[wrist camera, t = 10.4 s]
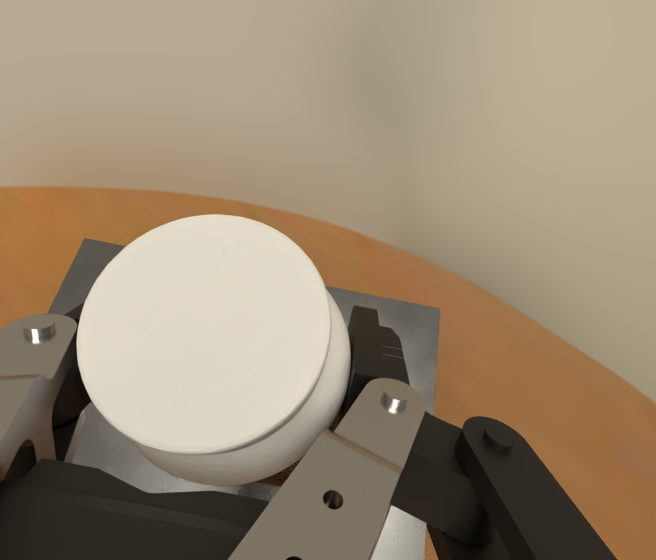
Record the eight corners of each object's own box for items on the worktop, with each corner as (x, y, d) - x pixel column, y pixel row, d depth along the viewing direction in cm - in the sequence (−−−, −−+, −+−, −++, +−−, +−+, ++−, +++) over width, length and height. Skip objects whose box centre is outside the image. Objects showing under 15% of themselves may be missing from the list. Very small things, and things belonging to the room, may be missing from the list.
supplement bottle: (270, 497, 13) (223, 619, 5) (159, 405, 14) (-64, 355, 5) (353, 374, 15) (435, 288, 6) (251, 299, 16) (199, 133, 7)
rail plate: (2, 490, 20) (-45, 499, 17) (107, 259, 25) (84, 238, 23) (404, 567, 20) (421, 588, 18) (424, 322, 26) (440, 308, 23)
